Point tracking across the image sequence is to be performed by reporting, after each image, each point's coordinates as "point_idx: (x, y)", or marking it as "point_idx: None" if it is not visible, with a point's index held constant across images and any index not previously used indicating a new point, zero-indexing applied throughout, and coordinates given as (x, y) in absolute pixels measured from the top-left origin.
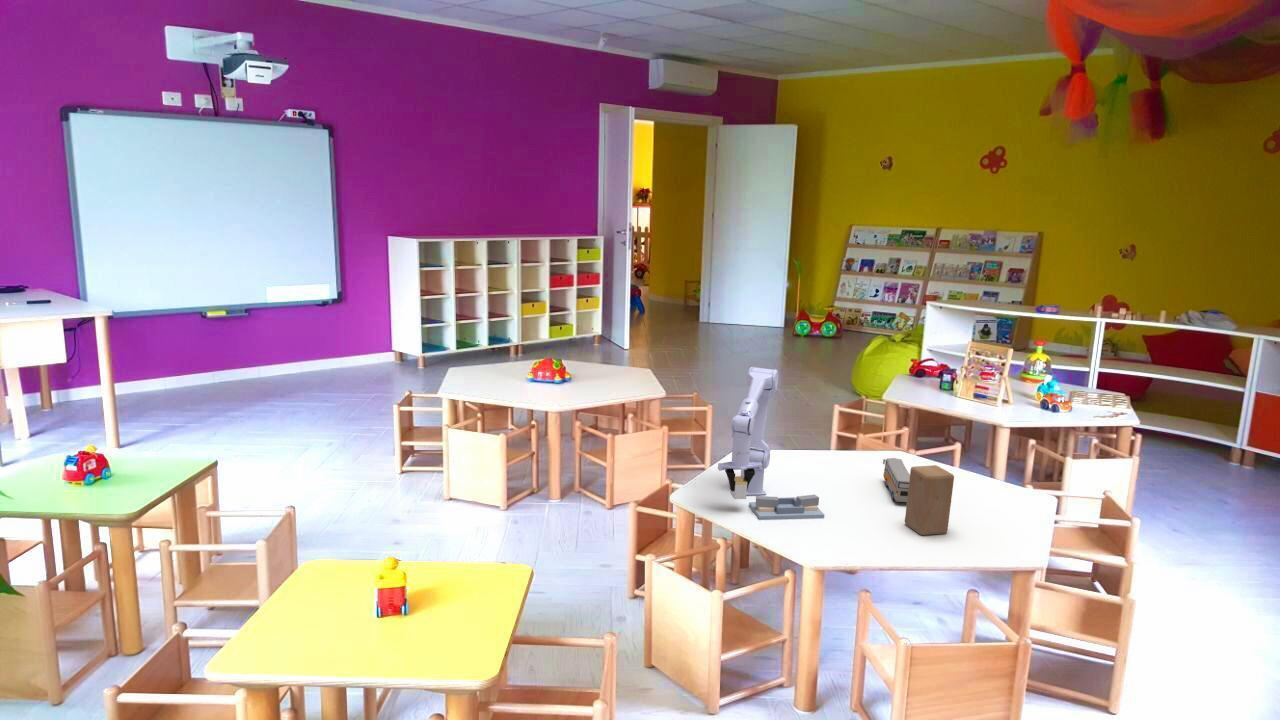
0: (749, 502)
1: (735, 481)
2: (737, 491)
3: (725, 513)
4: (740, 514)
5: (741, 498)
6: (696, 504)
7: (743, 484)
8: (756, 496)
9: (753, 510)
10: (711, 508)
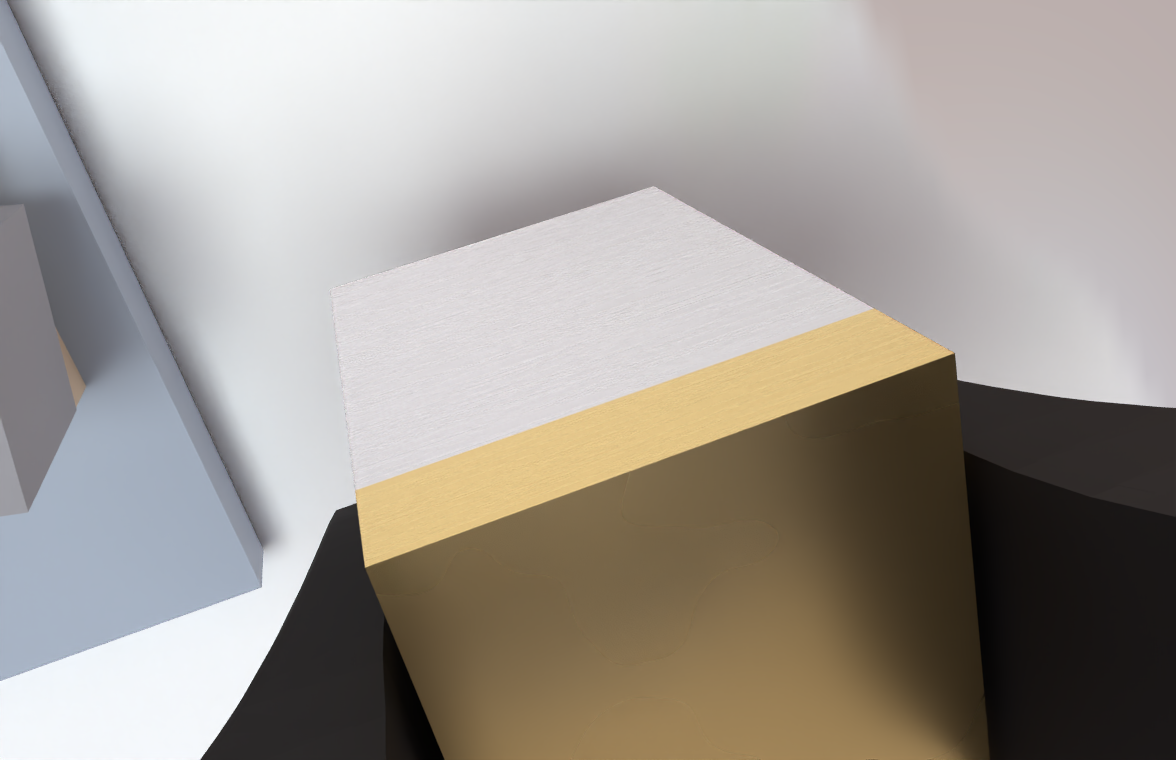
0: (255, 581)
1: (949, 404)
2: (657, 268)
3: (709, 52)
4: (410, 60)
5: (462, 252)
6: (1114, 345)
7: (527, 431)
8: (11, 464)
9: (134, 287)
10: (924, 240)
